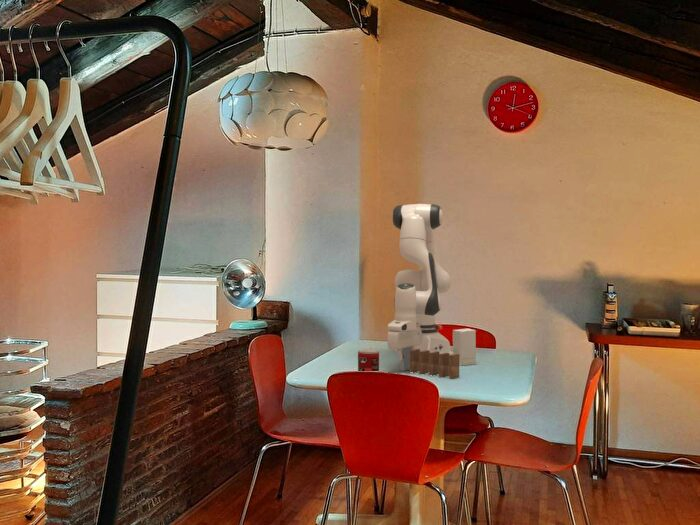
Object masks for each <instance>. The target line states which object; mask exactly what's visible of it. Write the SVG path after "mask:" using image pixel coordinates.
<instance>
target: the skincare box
mask: <svg viewBox="0 0 700 525" xmlns="http://www.w3.org/2000/svg"><path fill="white" fill-rule="evenodd" d="M476 333H477V330H476V329H471V328H459V329H452V351H453V354H459V365H460V366H461V367H463V366H469V365H470V366H471V365H476V361H477V360H476V359H477V357H476V356H477V354H476V353H477V349H476V347H477V346H476V344H477V340H476V337H477V335H476ZM462 365H463V366H462ZM460 366H459V367H460Z"/></svg>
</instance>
